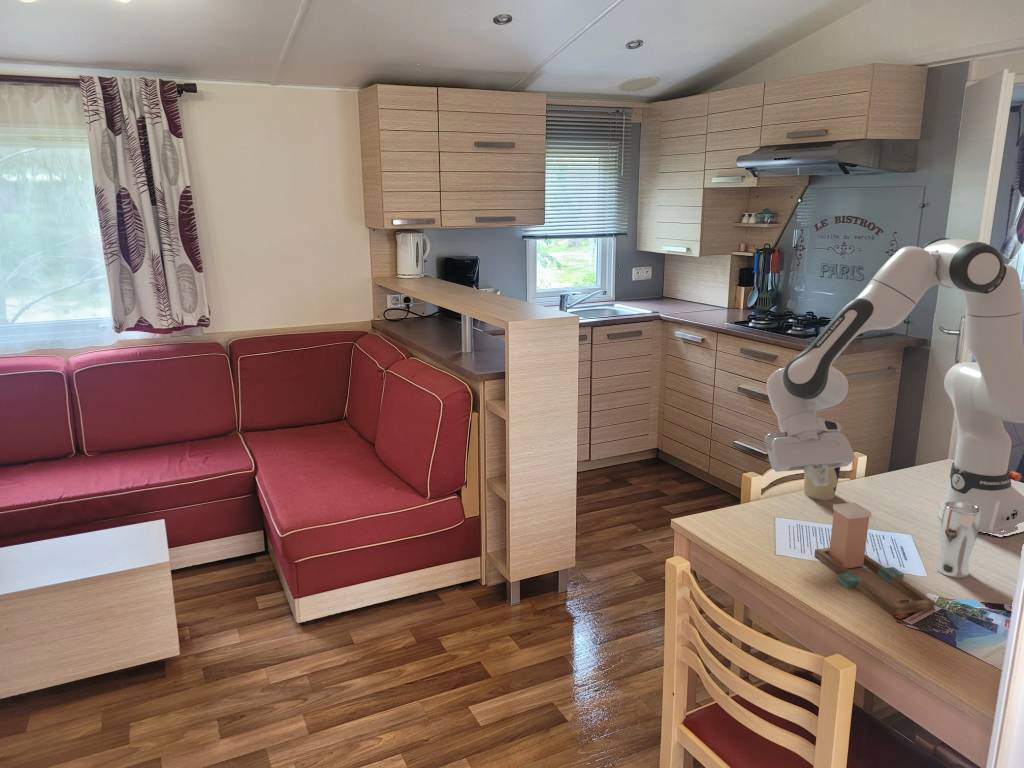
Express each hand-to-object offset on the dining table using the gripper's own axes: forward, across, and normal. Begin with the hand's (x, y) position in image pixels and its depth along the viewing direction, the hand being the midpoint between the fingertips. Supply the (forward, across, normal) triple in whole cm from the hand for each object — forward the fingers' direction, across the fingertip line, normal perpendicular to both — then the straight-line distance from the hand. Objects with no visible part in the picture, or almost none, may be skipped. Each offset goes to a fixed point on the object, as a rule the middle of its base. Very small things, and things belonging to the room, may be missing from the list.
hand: (822, 485), depth 171 cm
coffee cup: (-8, +18, +28) cm, 34 cm away
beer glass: (+24, +20, -3) cm, 31 cm away
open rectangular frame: (+23, 0, -3) cm, 23 cm away
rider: (+18, 0, +3) cm, 18 cm away
